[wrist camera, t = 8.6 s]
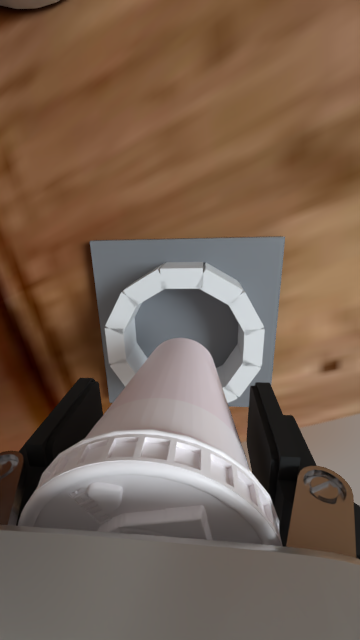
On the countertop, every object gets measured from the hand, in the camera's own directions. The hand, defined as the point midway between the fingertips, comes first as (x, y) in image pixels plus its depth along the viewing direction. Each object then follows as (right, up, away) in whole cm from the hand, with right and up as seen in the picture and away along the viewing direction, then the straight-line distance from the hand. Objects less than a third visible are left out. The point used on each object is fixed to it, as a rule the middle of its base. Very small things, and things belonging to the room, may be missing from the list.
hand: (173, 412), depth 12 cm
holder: (+1, +3, +10) cm, 10 cm away
